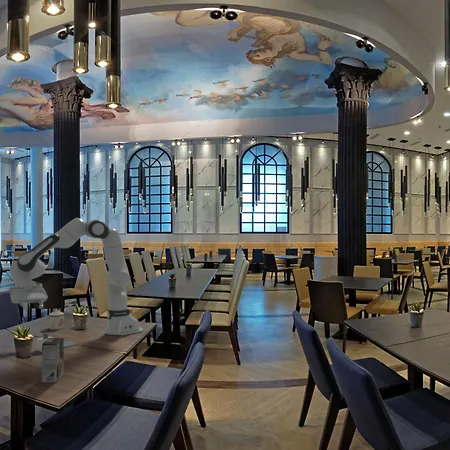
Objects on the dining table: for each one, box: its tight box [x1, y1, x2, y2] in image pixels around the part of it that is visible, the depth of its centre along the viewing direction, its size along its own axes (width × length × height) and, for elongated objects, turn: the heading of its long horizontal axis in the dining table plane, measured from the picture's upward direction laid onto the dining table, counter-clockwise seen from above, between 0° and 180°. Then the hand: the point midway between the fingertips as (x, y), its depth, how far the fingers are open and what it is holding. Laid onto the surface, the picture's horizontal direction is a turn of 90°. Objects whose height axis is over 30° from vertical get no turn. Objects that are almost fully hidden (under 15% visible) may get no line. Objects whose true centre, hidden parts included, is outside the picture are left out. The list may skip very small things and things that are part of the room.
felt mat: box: [64, 340, 78, 348], centre depth 223 cm, size 9×9×1 cm
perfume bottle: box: [36, 332, 54, 353], centre depth 213 cm, size 6×6×8 cm
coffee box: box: [41, 337, 65, 383], centre depth 173 cm, size 9×6×16 cm
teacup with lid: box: [48, 309, 65, 331], centre depth 261 cm, size 12×9×12 cm
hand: (34, 308), depth 221 cm, fingers open, 8 cm apart
